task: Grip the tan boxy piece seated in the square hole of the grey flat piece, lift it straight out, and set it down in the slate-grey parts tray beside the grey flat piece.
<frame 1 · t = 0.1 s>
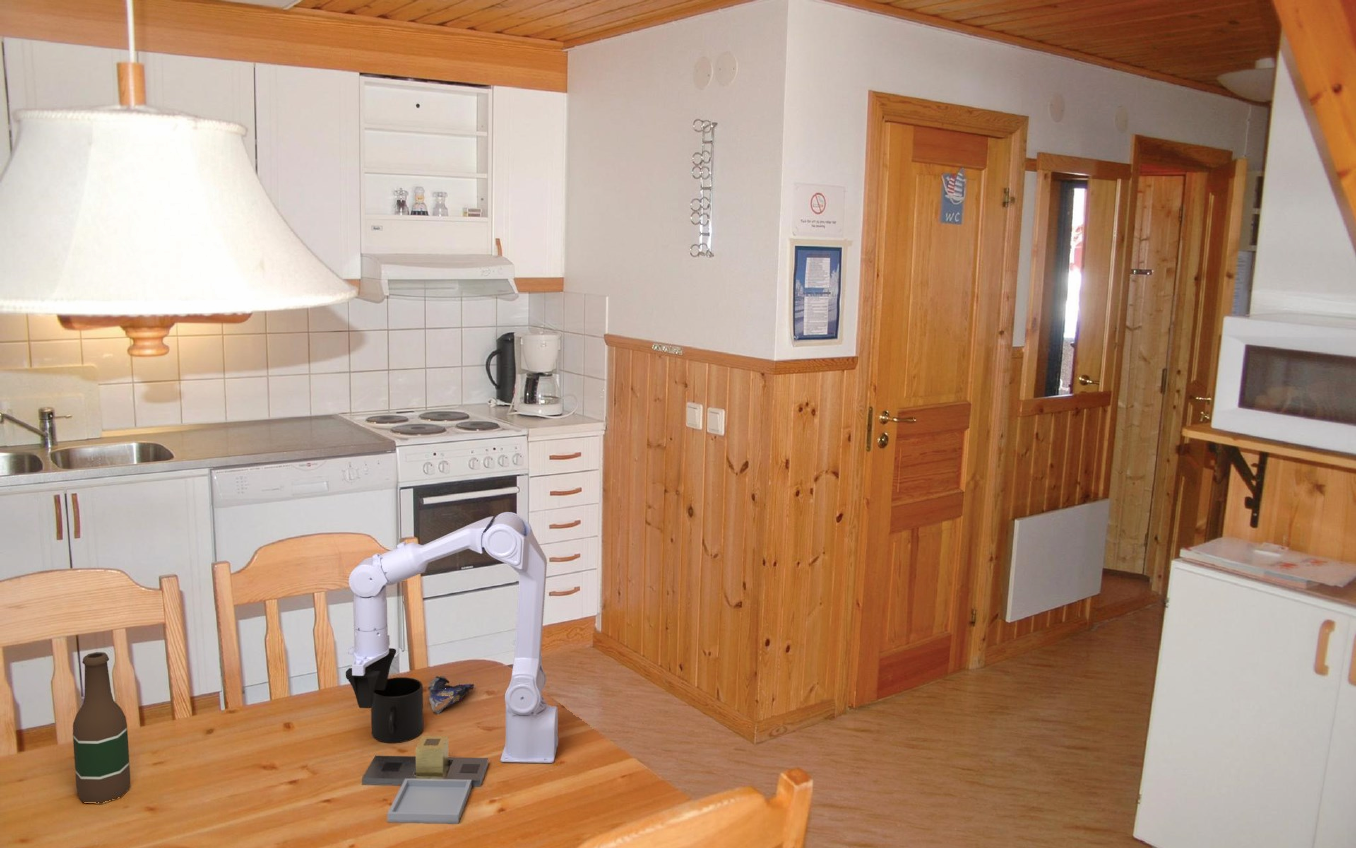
hand: (372, 698, 184), 10 cm above the table, tool pointing down, fingers open, 7 cm apart
parts tray: (430, 804, 168), on the table
grey flat piece: (426, 774, 178), on the table
snack package: (447, 702, 208), on the table
tan boxy piece: (432, 774, 178), resting in grey flat piece
beer bottle: (104, 795, 169), on the table
mug: (396, 736, 192), on the table
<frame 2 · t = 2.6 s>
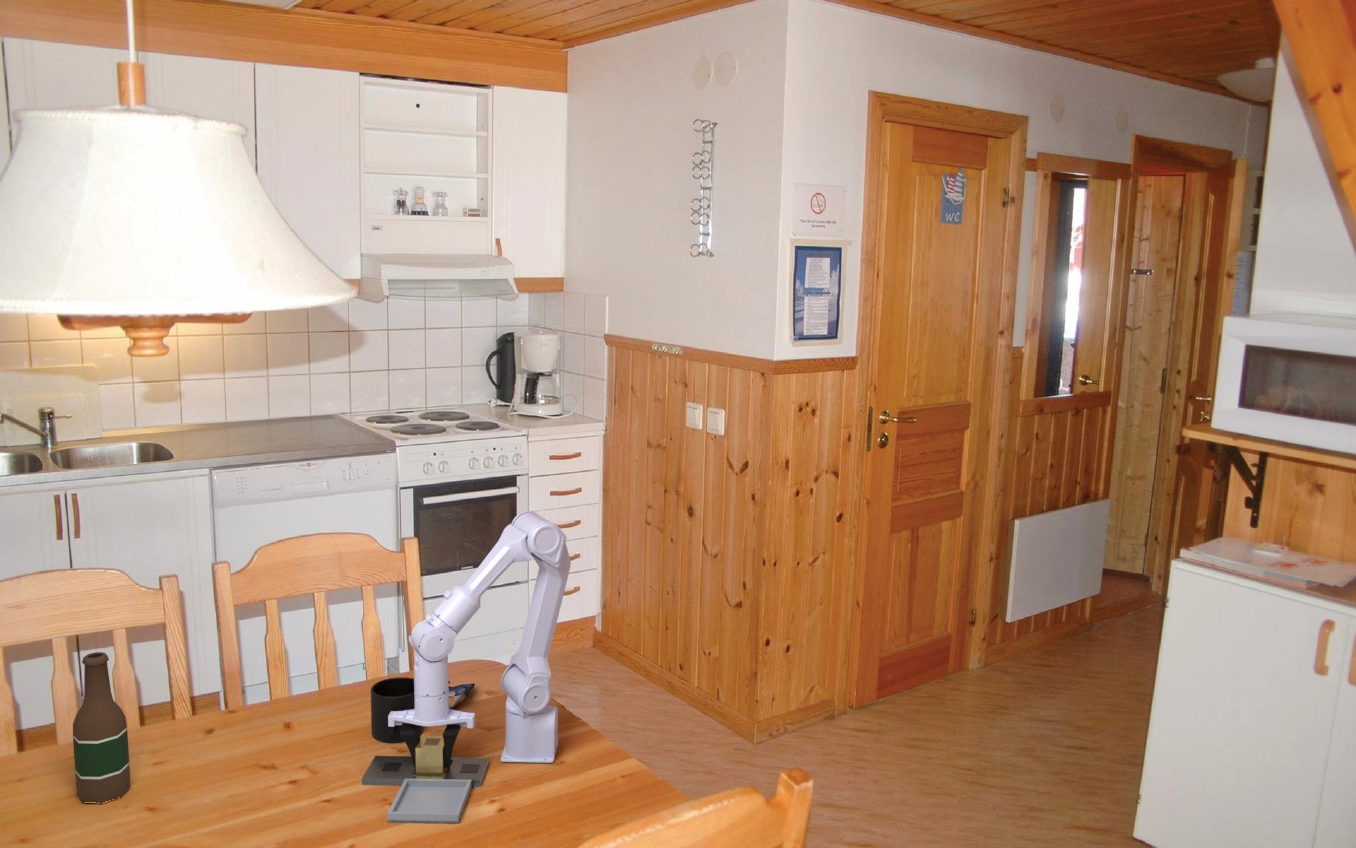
hand: (432, 764, 177), 2 cm above the table, tool pointing down, fingers closed on tan boxy piece, 5 cm apart
tan boxy piece: (432, 774, 178), resting in grey flat piece, touching gripper
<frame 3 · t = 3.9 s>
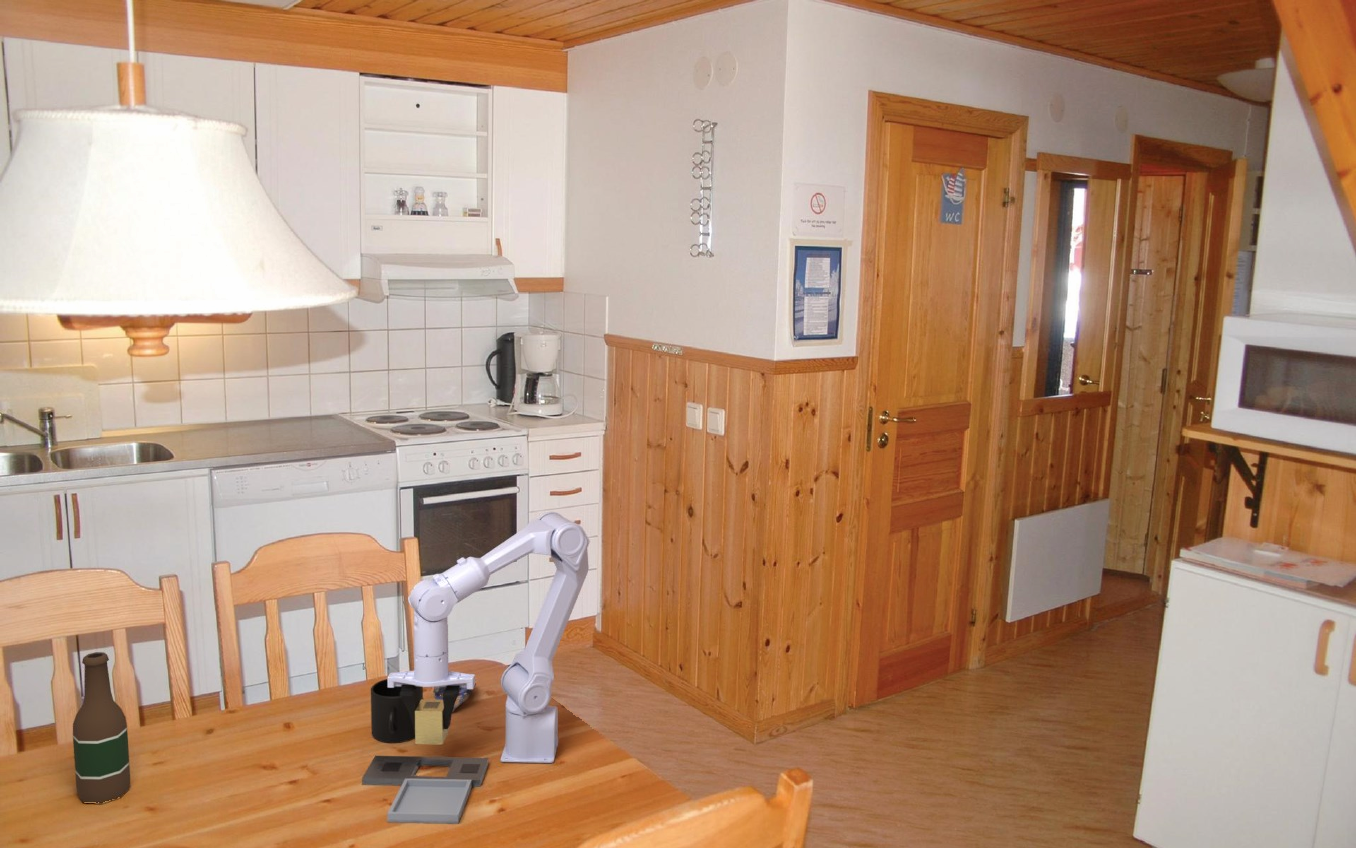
hand: (432, 726, 176), 9 cm above the table, tool pointing down, fingers closed on tan boxy piece, 5 cm apart
tan boxy piece: (432, 738, 177), point 7 cm above the table, touching gripper
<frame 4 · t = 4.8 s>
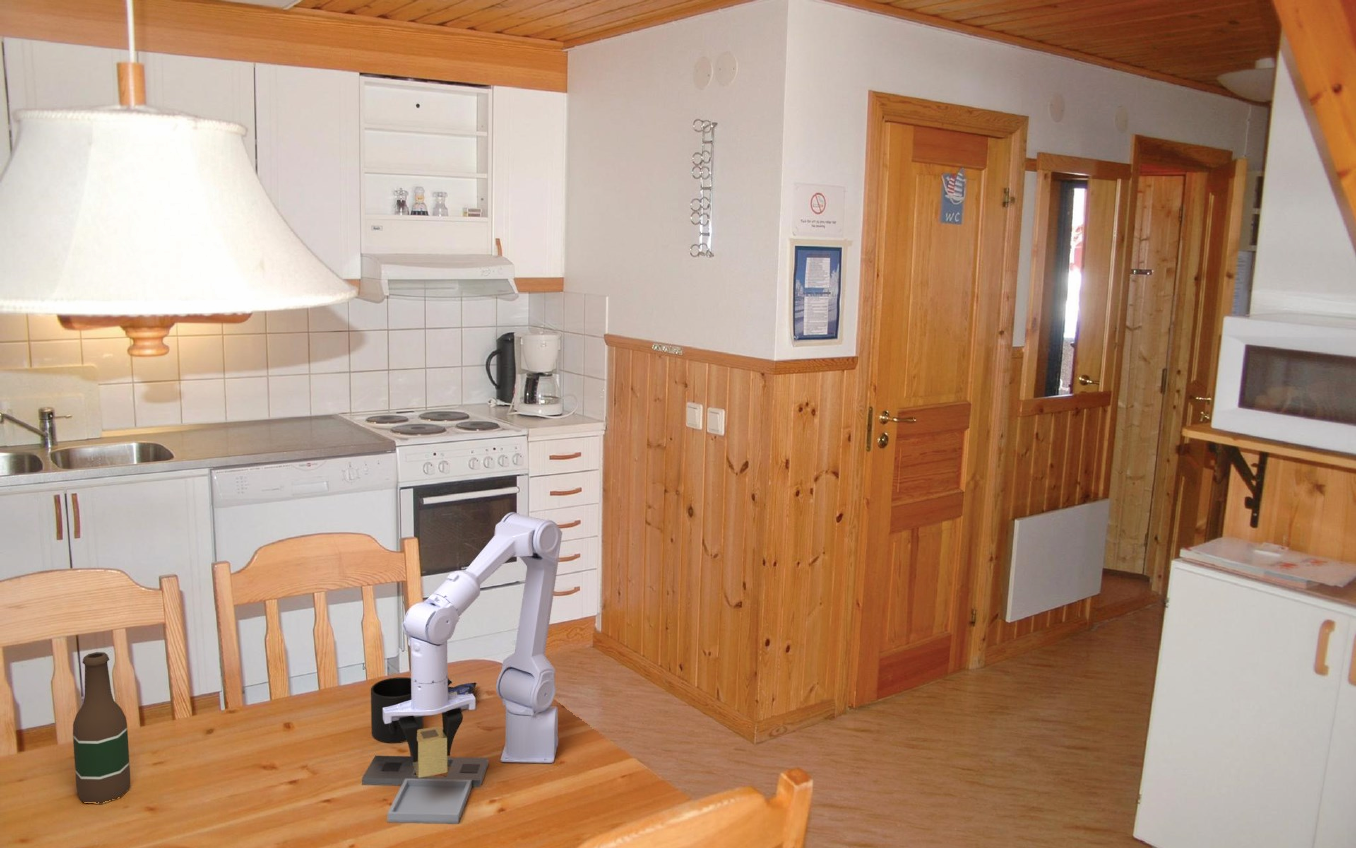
hand: (430, 756, 167), 8 cm above the table, tool pointing down, fingers closed on tan boxy piece, 5 cm apart
tan boxy piece: (430, 768, 167), point 6 cm above the table, touching gripper
when the fingers open (4 cm above the table, at t = 6.4 s): tan boxy piece stays where it is, resting on parts tray.
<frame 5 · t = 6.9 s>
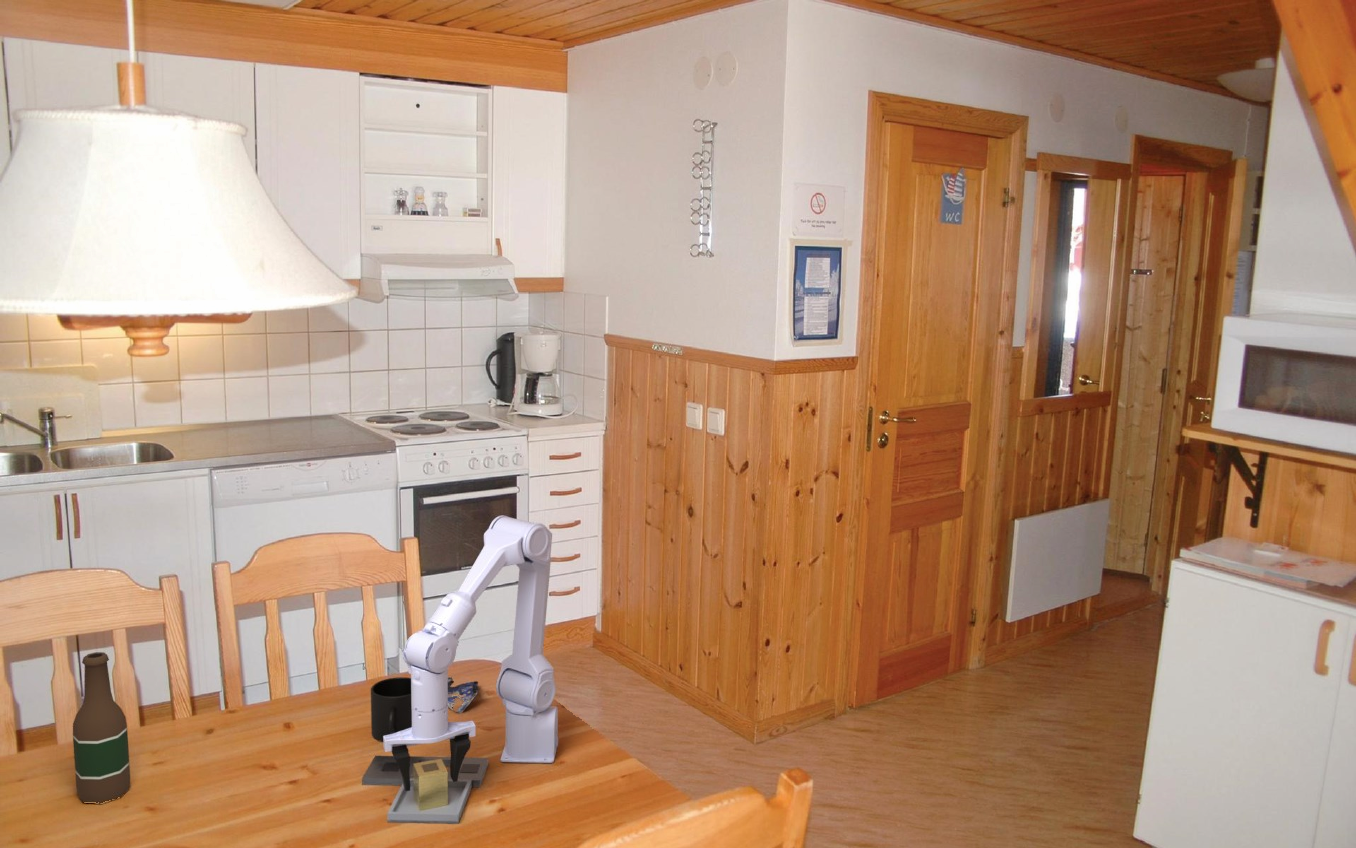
hand: (430, 783, 167), 4 cm above the table, tool pointing down, fingers open, 7 cm apart
tan boxy piece: (430, 801, 168), resting on parts tray
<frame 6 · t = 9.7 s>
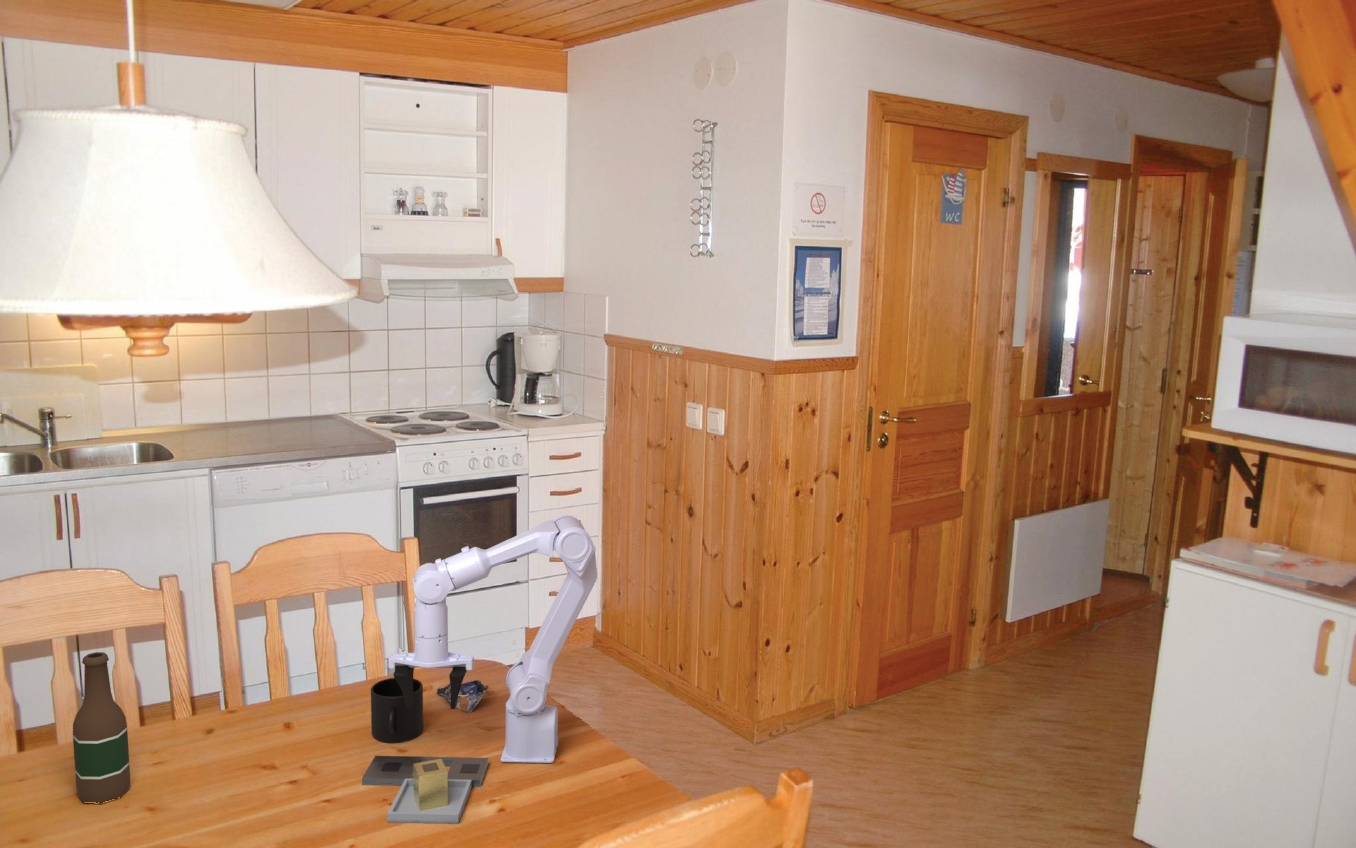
hand: (431, 706, 181), 10 cm above the table, tool pointing down, fingers open, 7 cm apart
at the end: tan boxy piece inside the target area on the parts tray (0.2 cm from its centre), point 0.4 cm above the parts tray's base; tan boxy piece tilted 0°; the gripper is holding nothing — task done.
